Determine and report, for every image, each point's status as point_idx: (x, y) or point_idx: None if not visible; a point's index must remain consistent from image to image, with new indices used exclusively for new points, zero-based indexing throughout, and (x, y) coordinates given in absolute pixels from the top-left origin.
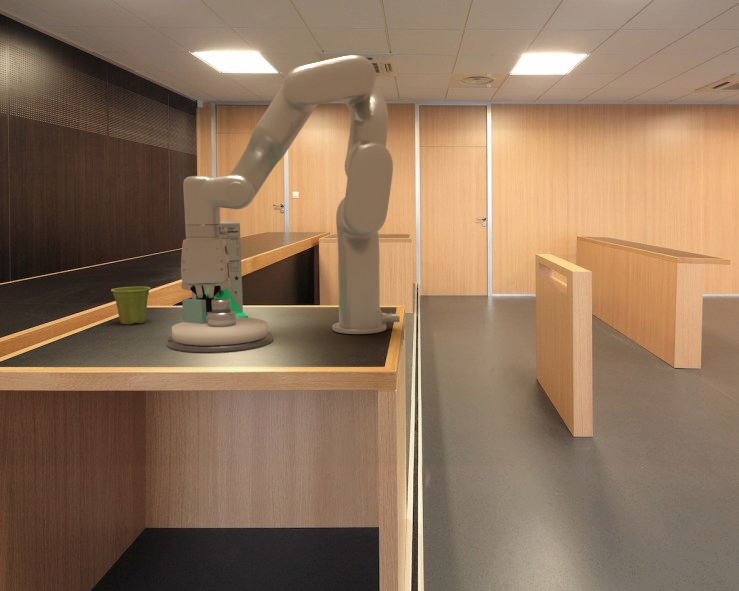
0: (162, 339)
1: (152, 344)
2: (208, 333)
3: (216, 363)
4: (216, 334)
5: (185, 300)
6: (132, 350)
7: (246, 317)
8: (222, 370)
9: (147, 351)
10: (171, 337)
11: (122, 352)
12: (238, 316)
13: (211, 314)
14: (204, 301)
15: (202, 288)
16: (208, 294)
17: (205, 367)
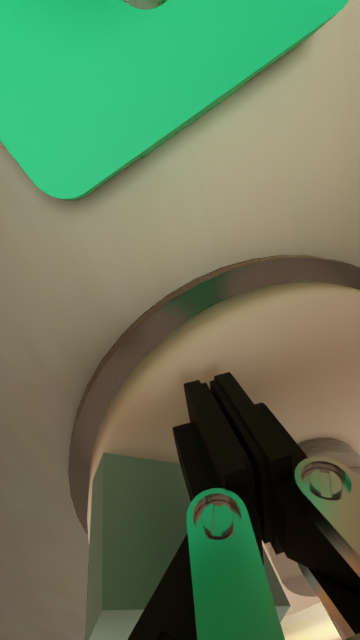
0: (4, 457)
1: (27, 534)
2: (293, 611)
3: (307, 611)
4: (315, 599)
5: (120, 637)
6: (18, 610)
7: (340, 8)
8: (327, 636)
9: (80, 601)
10: (80, 504)
11: (4, 635)
12: (293, 15)
13: (308, 592)
14: (279, 604)
15: (256, 609)
16: (311, 580)
17: (292, 636)
